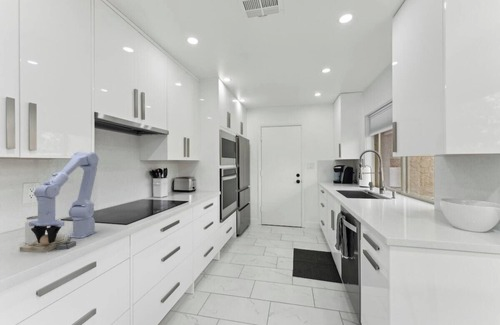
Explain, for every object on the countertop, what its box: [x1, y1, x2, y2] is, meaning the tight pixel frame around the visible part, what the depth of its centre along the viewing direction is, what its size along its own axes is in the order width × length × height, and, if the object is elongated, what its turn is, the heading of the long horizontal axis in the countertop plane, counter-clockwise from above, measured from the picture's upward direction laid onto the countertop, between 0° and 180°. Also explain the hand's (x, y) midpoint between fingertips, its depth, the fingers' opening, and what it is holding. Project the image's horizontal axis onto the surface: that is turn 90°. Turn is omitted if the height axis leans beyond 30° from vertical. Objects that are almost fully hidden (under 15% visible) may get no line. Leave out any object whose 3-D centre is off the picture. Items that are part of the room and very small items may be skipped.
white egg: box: [55, 231, 66, 242], centre depth 102 cm, size 4×4×4 cm
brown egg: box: [40, 234, 50, 245], centre depth 97 cm, size 4×4×4 cm
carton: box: [19, 237, 72, 253], centre depth 100 cm, size 12×12×2 cm
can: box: [24, 215, 38, 245], centre depth 105 cm, size 6×6×12 cm
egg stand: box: [56, 240, 77, 250], centre depth 99 cm, size 5×5×2 cm
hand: (46, 242), depth 97 cm, fingers closed on brown egg, 4 cm apart
